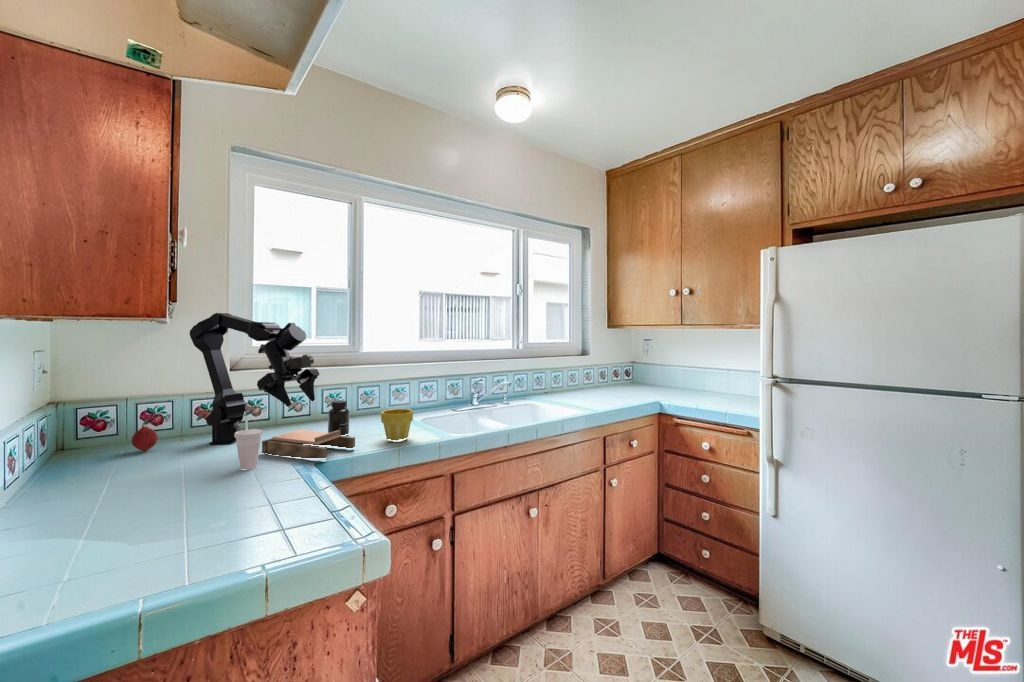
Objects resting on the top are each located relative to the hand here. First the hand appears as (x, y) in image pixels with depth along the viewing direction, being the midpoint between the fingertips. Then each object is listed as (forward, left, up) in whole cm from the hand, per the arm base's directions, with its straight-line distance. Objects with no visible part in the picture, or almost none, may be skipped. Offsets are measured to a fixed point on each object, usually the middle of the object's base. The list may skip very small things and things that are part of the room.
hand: (302, 403), depth 128 cm
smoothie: (-10, -14, -15) cm, 22 cm away
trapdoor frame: (+2, -1, -15) cm, 15 cm away
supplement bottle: (+7, +18, -15) cm, 25 cm away
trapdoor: (+2, -1, -14) cm, 14 cm away
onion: (-45, +7, -15) cm, 48 cm away
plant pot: (+27, +9, -15) cm, 33 cm away
